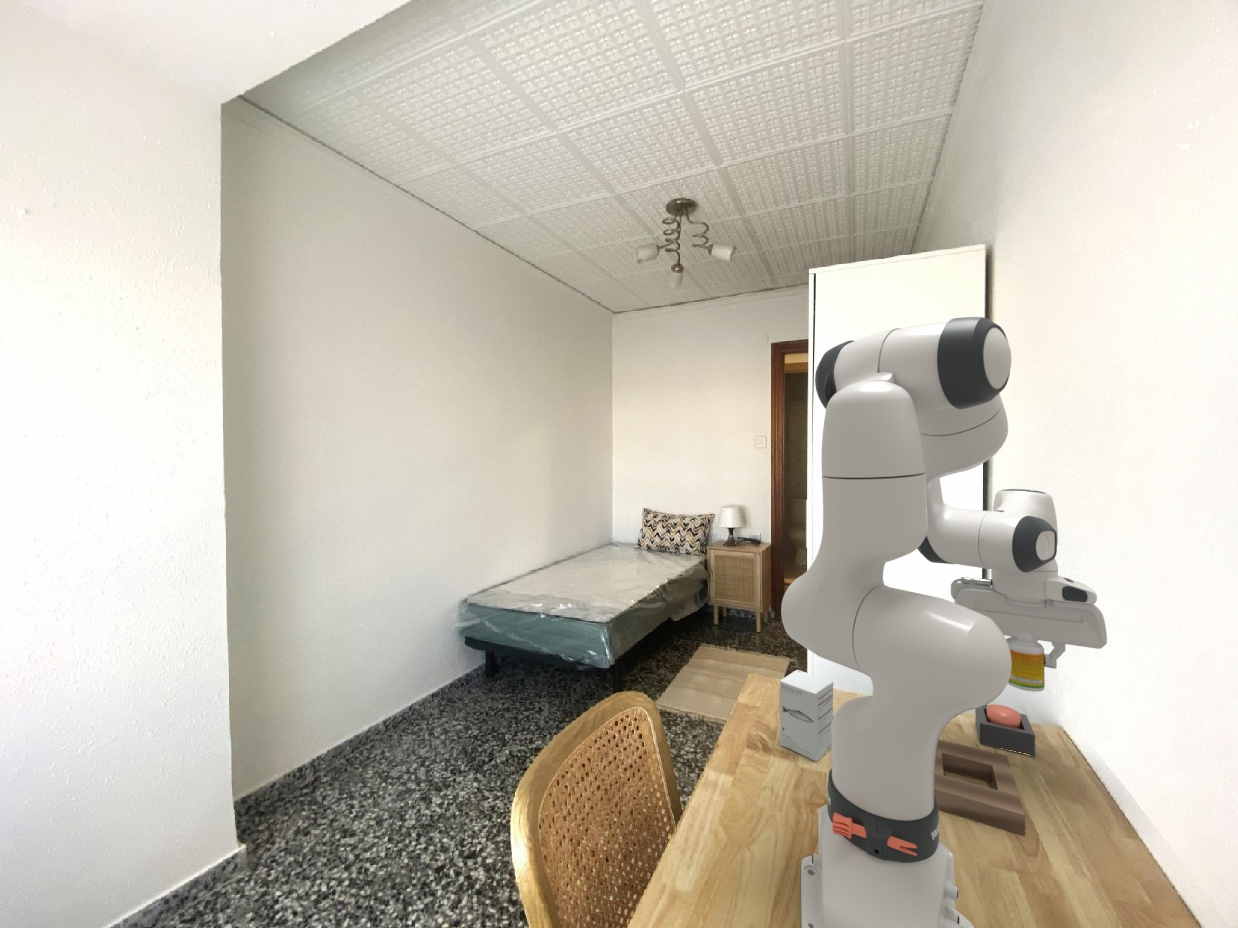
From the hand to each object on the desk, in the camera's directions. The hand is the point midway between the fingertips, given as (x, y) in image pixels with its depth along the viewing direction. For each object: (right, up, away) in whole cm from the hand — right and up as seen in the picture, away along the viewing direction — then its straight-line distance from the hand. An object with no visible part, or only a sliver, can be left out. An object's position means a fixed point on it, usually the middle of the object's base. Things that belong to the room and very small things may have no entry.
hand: (1023, 662), depth 83 cm
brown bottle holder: (-13, -19, -4) cm, 23 cm away
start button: (+4, -16, +9) cm, 19 cm away
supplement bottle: (0, -4, 0) cm, 4 cm away
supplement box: (-34, -19, +8) cm, 40 cm away
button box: (+4, -19, +9) cm, 21 cm away
